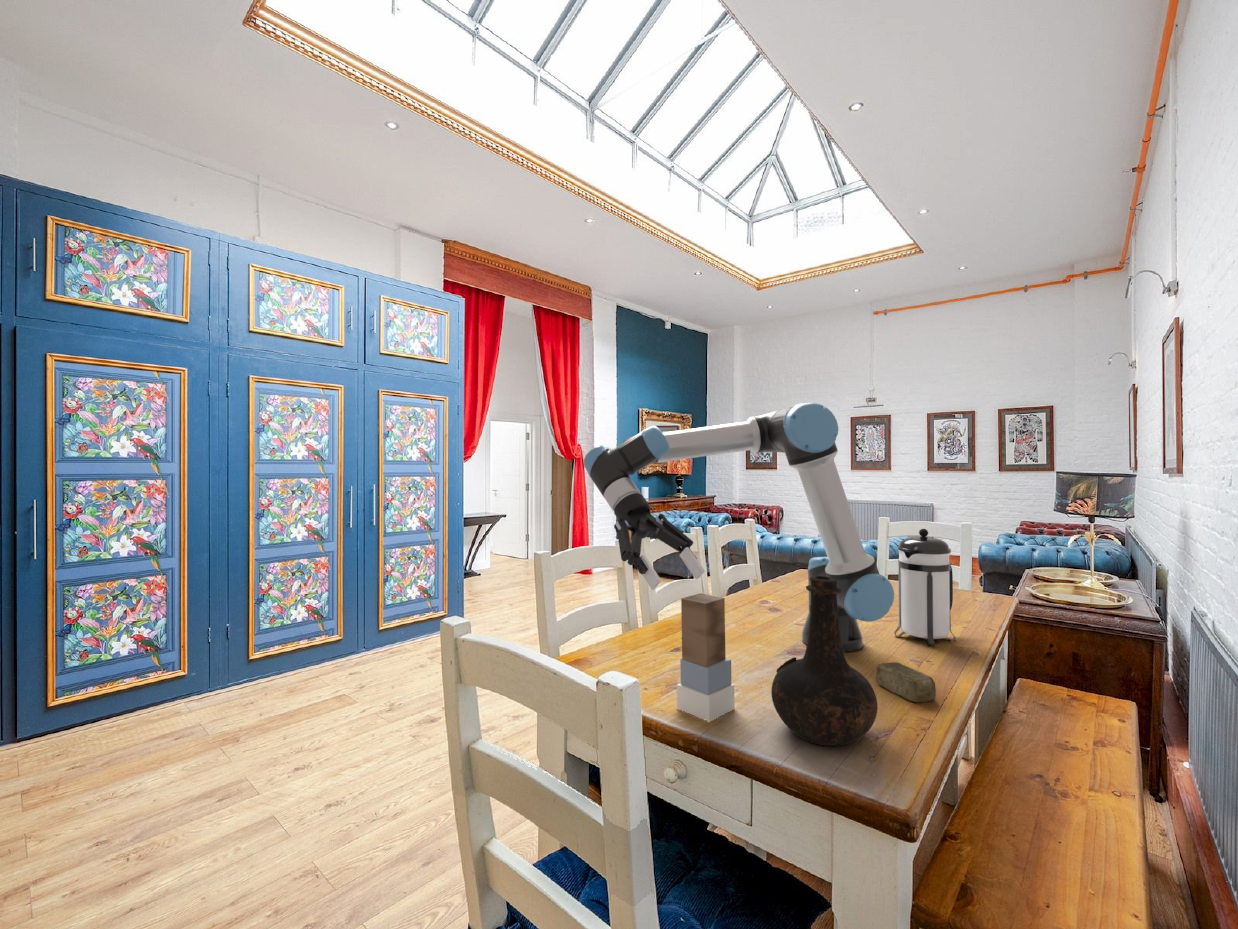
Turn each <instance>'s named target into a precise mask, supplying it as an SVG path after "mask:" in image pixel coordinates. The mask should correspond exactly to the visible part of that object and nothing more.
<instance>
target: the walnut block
mask: <svg viewBox="0 0 1238 929" xmlns="http://www.w3.org/2000/svg"><path fill="white" fill-rule="evenodd" d="M725 600H726V599H725V597H721V596H715V595H710V594H706V593H696V594H693V595H689V596H685V597H682V598H681V599H680V601H681V604H680V605H681V606H680V607H681V608H680V609H681V659H682V660H685V661H688V662H692V663H695V664H698V665H701V666H705V667H708V666H711V665H713V664H715V663H718V662H720V661H722V660H725V658H726V615H725V614H726V611H725V609H726V608H725V606H726V603H725Z"/></svg>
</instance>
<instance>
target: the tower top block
mask: <svg viewBox="0 0 1238 929" xmlns="http://www.w3.org/2000/svg"><path fill="white" fill-rule="evenodd" d="M679 664H680V683H681V685H684V686H686V687H689V688H691V689H694V690H696V691H699V692H702V693H704V694H707V695H710V694H712V693H714V692H717V691H719V690H721V689H724V688H726V687H728V686H731V684H732V659H730V658H727V657H725V660H722V661H720V662H718V663H715V664H713V665H711V666H708V667H705V666H701V665H698V664H695V663H692V662H688V661H685V660H682V658H680V663H679Z"/></svg>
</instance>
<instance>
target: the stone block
mask: <svg viewBox="0 0 1238 929" xmlns="http://www.w3.org/2000/svg"><path fill="white" fill-rule="evenodd" d="M876 666H877V667H876V674H875V682H876V683H877V684H878V685H879V686H880V687H883V688H884V689H885V690H888V691H890V692H891V693H893V694H896V695H897V696H899V697H902V698H903V699H906V700H907V701H910V702H913V703H917V704H918V703H926V702H927V703H928V702H932V701H934V700H936V697H937V695H936V693H937V692H936V691H937V690H936V682H935V681H934V679H933V677H931V676H930V675H927V674H925V673H924V672H920V671H919V670H916V669H914V668H912V667H909V666H907V665H905V664H902V663H900V662H897V661H895V662H883V663H877V665H876Z"/></svg>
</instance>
